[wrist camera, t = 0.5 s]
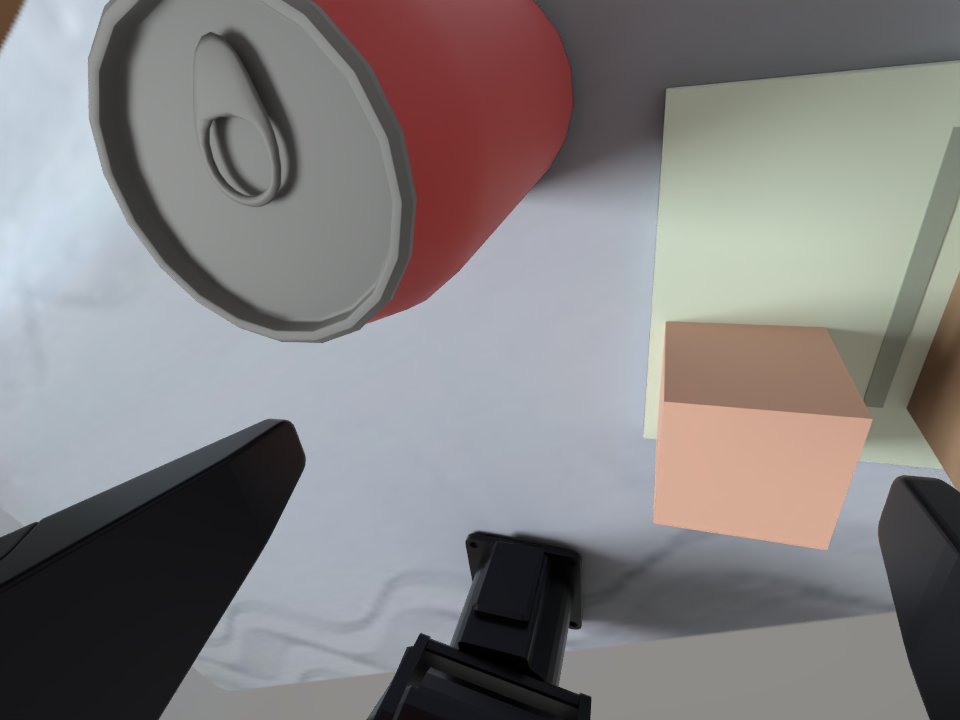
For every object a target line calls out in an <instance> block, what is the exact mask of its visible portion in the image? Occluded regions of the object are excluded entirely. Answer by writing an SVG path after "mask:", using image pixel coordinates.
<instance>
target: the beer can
mask: <svg viewBox="0 0 960 720" xmlns="http://www.w3.org/2000/svg"><path fill="white" fill-rule="evenodd" d="M88 88H89V121H90V124H91V128H92V132H93V136H94V140H95V143H96V147H97V151H98V155H99V159H100V162H101V166H102V170H103V174H104V176H105V178H106V180H107V182H108V184H109V186H110V188H111V190H112V192H113V194H114V196H115V198H116V200H117V202H118V204H119V206H120V208H121V210H122V212H123V214H124V216H125V218H126V221H127V223H128V224H129V226H130V227H131V228H132V230H133V231H134V232H135V234H136V235H137V237H138V238H139V239H140V241H141V242H142V243H143V245H144V246H145V247H146V249H147V250H148V251H149V253H150V254H151V255H152V257H153V258H154V259H155V261H156V262H157V264H158V265H159V266H160V267H161V268H162V269H163V270H164V271H165V272H166V273H167V274H168V275H169V276H170V277H171V278H172V279H173V280H174V281H176V282H177V283H178V284H179V285H180V286H181V287H182V288H183V289H184V290H185V291H186V292H187V293H188V294H189V295H191V296H192V297H193V298H194V299H195V300H196V301H197V302H198V303H200V304H202V305H203V306H205V307H207V308H208V309H210V310H211V311H213V312H215V313H216V314H218V315H220V316H221V317H223V318H224V319H226V320H228V321H229V322H231V323H232V324H234V325H236V326H237V327H239V328H242V329H245V330H248V331H251V332H254V333H257V334H260V335H263V336H266V337H269V338H272V339H275V340H278V341H281V342H308V343H324V342H326V341H329V340H332V339H335V338H338V337H341V336H343V335H346V334H349V333H352V332H355V331H358V330H360V329H361V328H362V327H363V326H364V325H365V324H366V323H370V322H373V321H376V320H379V319H381V318H384V317H387V316H390V315H393V314H395V313H398V312H401V311H404V310H407V309H409V308H411V307H413V306H415V305H417V304H419V303H421V302H423V301H425V300H427V299H428V298H429V297H430V296H431V295H432V294H434V293H435V292H436V291H437V290H438V289H439V288H440V287H442V286H443V285H444V284H445V283H446V282H447V281H448V280H450V279H451V278H452V277H453V276H454V275H455V274H456V273H458V272H459V271H460V269H461V268H462V267H463V266H464V265H465V264H466V263H467V262H468V260H469V259H470V258H471V257H472V256H473V255H474V254H475V252H476V251H477V250H478V249H479V248H480V247H481V246H482V244H483V243H484V242H485V241H486V240H487V239H488V238H489V236H490V235H491V234H492V233H493V232H494V231H495V230H496V228H497V227H498V226H499V225H500V224H501V223H502V222H503V221H504V219H505V218H506V217H507V216H508V215H509V214H510V213H511V211H512V210H513V209H514V208H515V207H516V206H517V205H518V203H519V202H520V201H521V200H522V199H523V198H524V197H525V195H526V194H527V193H528V192H529V191H530V190H531V189H532V188H533V186H534V185H535V184H536V183H537V182H538V181H539V180H540V178H541V177H542V176H543V175H544V174H545V173H546V172H547V170H548V169H549V168H550V166H551V164H552V162H553V161H554V159H555V157H556V155H557V154H558V152H559V150H560V149H561V147H562V145H563V143H564V142H565V138H566V134H567V130H568V126H569V122H570V117H571V113H572V109H573V93H572V73H571V67H570V64H569V61H568V58H567V55H566V52H565V49H564V47H563V44H562V41H561V38H560V35H559V32H558V31H557V30H556V29H555V27H554V26H553V25H552V23H551V22H550V21H549V19H548V18H547V17H546V15H545V14H544V13H543V11H542V10H541V9H540V7H539V6H538V5H537V3H536V2H534V1H533V0H110V1H109V2H108V3H107V4H106V5H105V6H104V9H103V12H102V16H101V19H100V22H99V25H98V28H97V32H96V35H95V38H94V41H93V44H92V48H91V51H90V54H89V57H88Z"/></svg>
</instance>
